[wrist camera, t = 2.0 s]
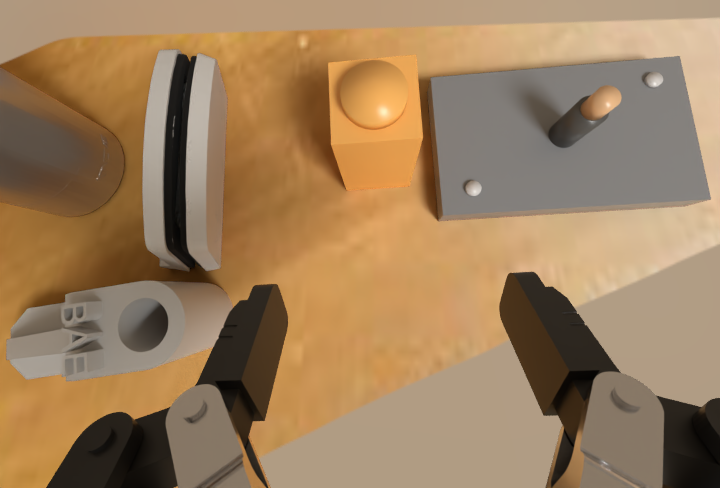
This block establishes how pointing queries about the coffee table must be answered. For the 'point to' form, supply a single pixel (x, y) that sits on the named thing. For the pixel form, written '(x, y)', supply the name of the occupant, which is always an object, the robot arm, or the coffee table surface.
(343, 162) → the orange dome-topped block
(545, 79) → the riveted grey base plate
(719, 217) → the coffee table surface
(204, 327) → the grey mounting bracket
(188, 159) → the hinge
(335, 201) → the coffee table surface
